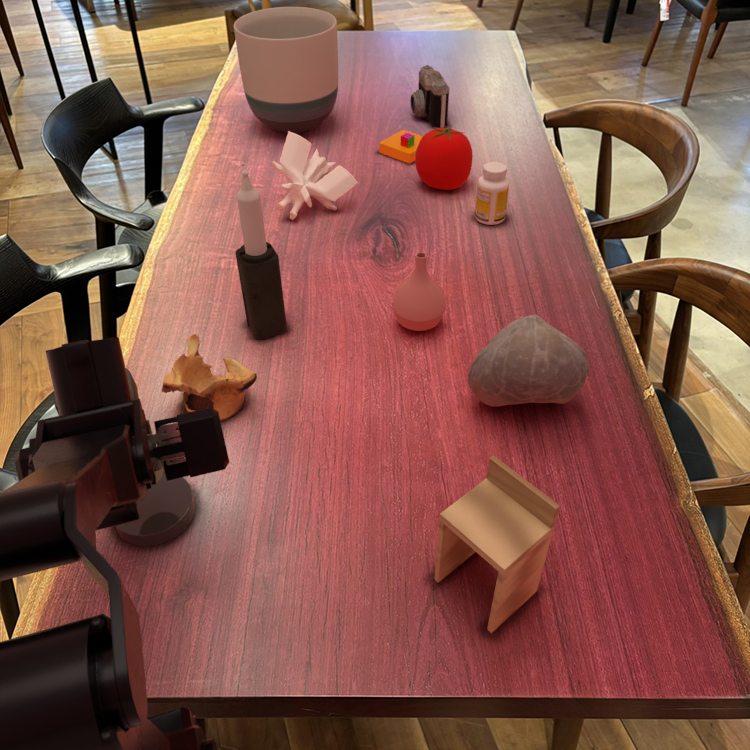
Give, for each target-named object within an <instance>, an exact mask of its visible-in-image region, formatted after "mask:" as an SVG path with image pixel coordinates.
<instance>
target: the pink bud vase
mask: <svg viewBox="0 0 750 750" xmlns="http://www.w3.org/2000/svg"><path fill="white" fill-rule="evenodd" d="M427 257H428V255H427V253H426V252H423V251H419V252H416V253H415V257H414V258H415V261H414V262H415V263H414V269H413V271H412V272H411V274H410V276H409V277H408V278H406V279H405V280H403V281H402V282H400V283H399V285H397V287H396V288H395V292H394V295H393V296H394V297H393V301H392V304H391V305H392V308H393V312H394V315H395V317H396V319H397V322H398V323H399V324H400V325H401V326H402V327H404V328H405V329H407V330H411V331H416V332H417V331H418V332H420V331H421V332H424V331H428V330H432V329H433V328H435V327H437V326H438V324H439V323H441V321H442V320H441V319H442V318H443V316H444V313H445V312H446V307H447V303H446V296H445V291H444V288H443V287H442V286H441V285H440V284H439V283H438V282H436V281H435V280H434V279H433V278H432V277H431V274H430V273H429V272H428V270H427V261H428V260H427V259H428V258H427Z"/></svg>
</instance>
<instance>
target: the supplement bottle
mask: <svg viewBox="0 0 750 750" xmlns="http://www.w3.org/2000/svg"><path fill="white" fill-rule="evenodd" d="M507 172H508V166H507V165H506V164H505V163H503V162H500V161H488V162H486V163H485V164H483V167H482V175H481V176H479V178H478V181H477V186H476V187H477V188H476V197H475V210H474V217H475V219H476V221H477V222H478V223H480V224H483V225H489V226H493V225H494V226H495V225H499V224H502V223H503V222H504V221H505V219H506V214H507V208H508V207H507V206H508V198H509V189H510V181H509V178H508V177H507Z"/></svg>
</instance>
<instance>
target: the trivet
mask: <svg viewBox="0 0 750 750" xmlns="http://www.w3.org/2000/svg"><path fill="white" fill-rule="evenodd" d="M137 504H138V508H139V513H140V519H139V520H136V521H132V522H128V523H124V524H120V525H116V526H114V528H115V530H116V533H117V534H118V536H119V537H120V538H121V539H123V540H124V541H125V542H127V543H129V544H132V545H134V546H138V547H139V546H140V547H153V546H158V545H162V544H165V543H167V542H170V541H171V540H174V539H176V537H178V536H179V535H180V534H182V533H183V532H184V531H185V530H186V529H187V528H188V526H189V525H190V523H191V522H192V520H193V519H194V515H195V512H196V500H195V497H194V494H193V490H192V487H191V485H190V484H189V482H188V481H187V480H186V478H184V477H181V478H177V479H173V480H169V481H167V479H166V476H165V473H164V471H163V475H162V477H161V479H160V480H159V481H158V482H157V484H155V485H154V486H153V487H152V488H150V489H147V494H146V497H145V498H144V500H141V501H137Z"/></svg>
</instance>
